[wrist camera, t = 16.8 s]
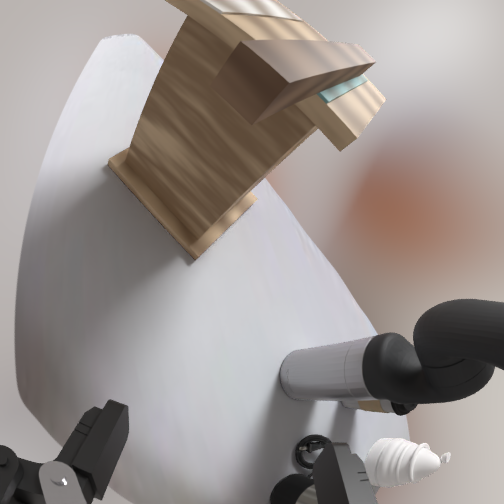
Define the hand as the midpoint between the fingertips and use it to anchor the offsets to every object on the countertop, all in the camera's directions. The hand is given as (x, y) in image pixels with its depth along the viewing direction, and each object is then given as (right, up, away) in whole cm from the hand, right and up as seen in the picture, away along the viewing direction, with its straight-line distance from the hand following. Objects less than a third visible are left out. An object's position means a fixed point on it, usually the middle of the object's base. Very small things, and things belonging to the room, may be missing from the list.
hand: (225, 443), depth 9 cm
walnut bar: (+7, +22, +11) cm, 26 cm away
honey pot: (+31, -43, +40) cm, 66 cm away
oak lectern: (-11, +19, +40) cm, 46 cm away
